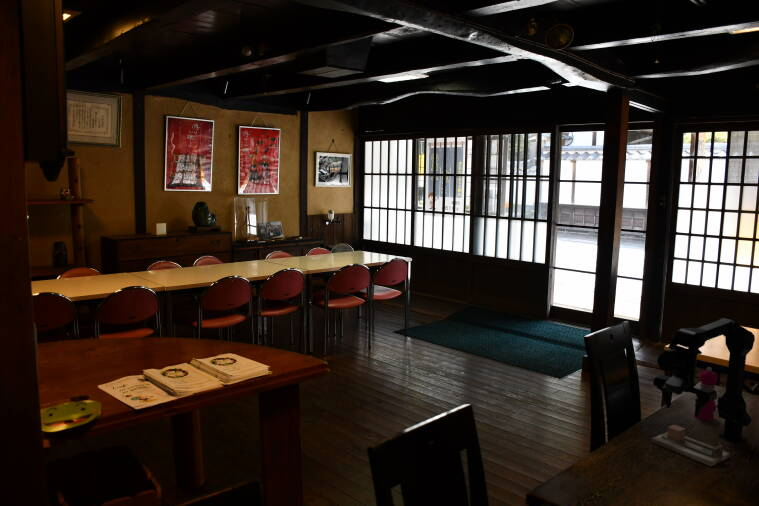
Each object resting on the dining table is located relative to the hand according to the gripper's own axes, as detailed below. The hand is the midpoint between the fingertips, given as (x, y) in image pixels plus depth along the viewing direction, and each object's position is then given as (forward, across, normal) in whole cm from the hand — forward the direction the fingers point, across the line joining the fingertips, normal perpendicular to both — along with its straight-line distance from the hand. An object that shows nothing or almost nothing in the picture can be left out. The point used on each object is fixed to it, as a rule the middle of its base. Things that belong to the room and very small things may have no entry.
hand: (682, 412), depth 197 cm
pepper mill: (+14, -9, +37) cm, 40 cm away
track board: (+13, +2, +3) cm, 14 cm away
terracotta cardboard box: (+11, -3, +3) cm, 12 cm away
